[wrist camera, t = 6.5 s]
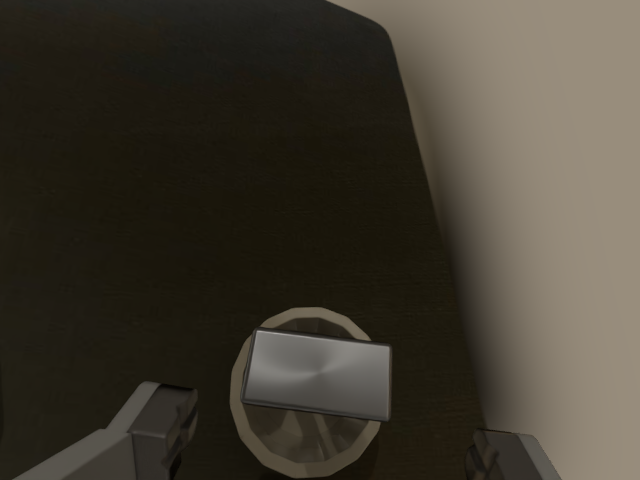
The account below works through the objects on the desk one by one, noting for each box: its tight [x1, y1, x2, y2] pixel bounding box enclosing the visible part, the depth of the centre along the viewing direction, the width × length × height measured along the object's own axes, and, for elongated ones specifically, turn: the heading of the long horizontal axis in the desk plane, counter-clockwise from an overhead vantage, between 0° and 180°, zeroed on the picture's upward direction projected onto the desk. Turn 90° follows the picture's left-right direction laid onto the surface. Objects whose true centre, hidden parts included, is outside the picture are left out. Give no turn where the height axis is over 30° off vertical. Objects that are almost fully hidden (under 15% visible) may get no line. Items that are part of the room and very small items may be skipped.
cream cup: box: [230, 307, 381, 478], centre depth 18 cm, size 7×7×9 cm
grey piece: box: [240, 327, 393, 422], centre depth 13 cm, size 1×2×18 cm, turn 83°
